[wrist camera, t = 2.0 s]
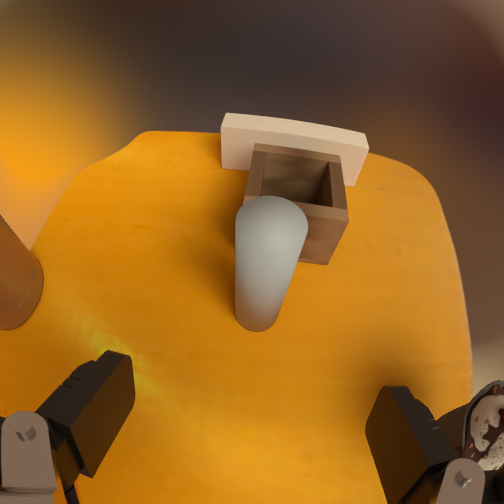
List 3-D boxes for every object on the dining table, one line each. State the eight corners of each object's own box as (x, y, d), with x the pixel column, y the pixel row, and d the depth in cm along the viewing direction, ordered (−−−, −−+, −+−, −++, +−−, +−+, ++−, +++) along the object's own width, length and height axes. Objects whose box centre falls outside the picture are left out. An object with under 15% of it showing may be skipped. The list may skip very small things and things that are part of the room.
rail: (221, 168, 34) (220, 126, 29) (226, 153, 36) (226, 113, 30) (353, 186, 34) (369, 148, 28) (351, 170, 35) (364, 133, 30)
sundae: (379, 412, 20) (520, 375, 7) (439, 396, 20) (569, 344, 8) (382, 482, 16) (520, 504, 4) (443, 459, 17) (576, 444, 4)
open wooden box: (240, 254, 27) (242, 206, 22) (251, 191, 32) (254, 143, 26) (327, 265, 27) (348, 221, 22) (324, 201, 32) (340, 155, 26)
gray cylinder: (232, 328, 24) (229, 247, 14) (238, 289, 26) (241, 191, 15) (275, 334, 24) (307, 257, 13) (279, 295, 25) (308, 200, 15)
